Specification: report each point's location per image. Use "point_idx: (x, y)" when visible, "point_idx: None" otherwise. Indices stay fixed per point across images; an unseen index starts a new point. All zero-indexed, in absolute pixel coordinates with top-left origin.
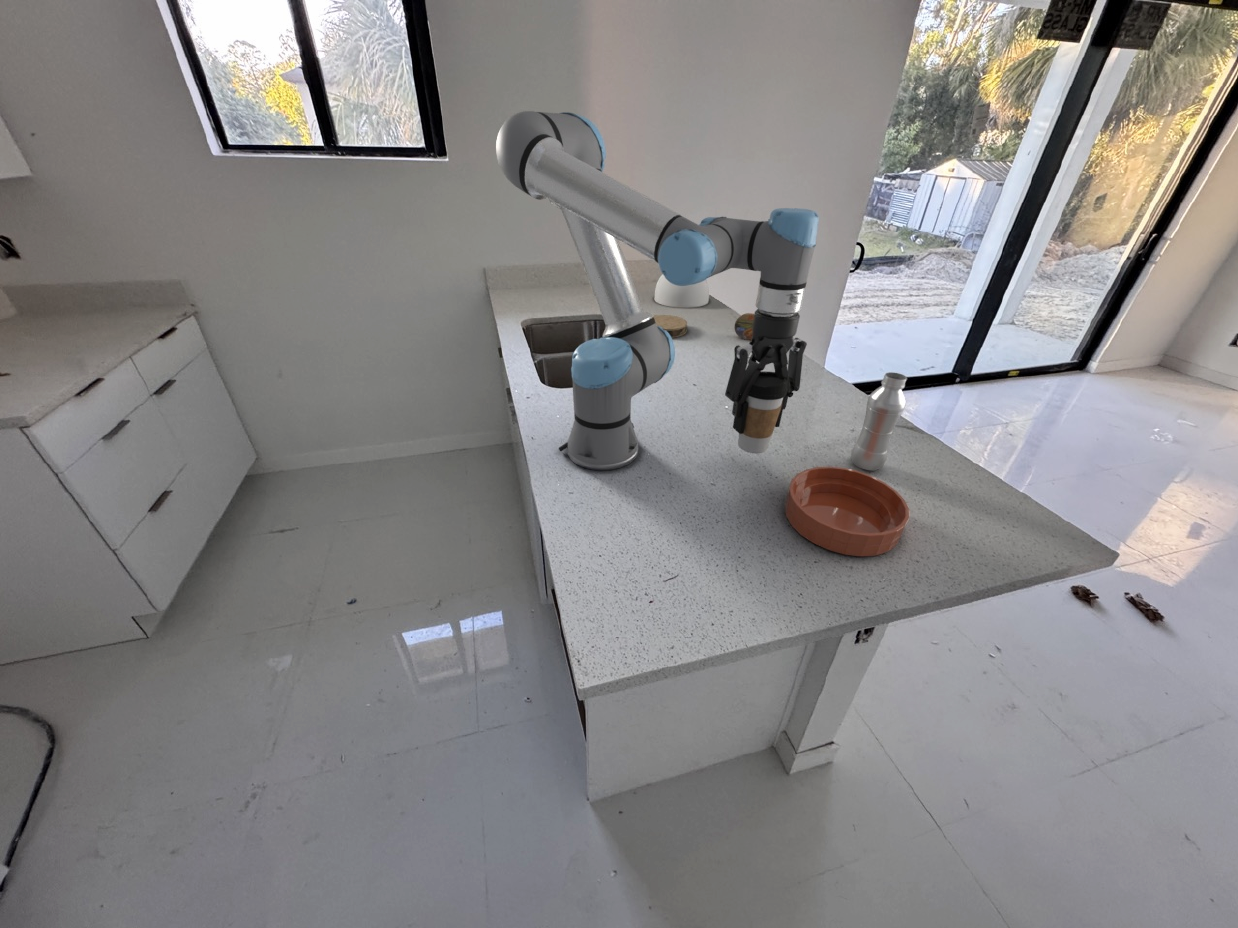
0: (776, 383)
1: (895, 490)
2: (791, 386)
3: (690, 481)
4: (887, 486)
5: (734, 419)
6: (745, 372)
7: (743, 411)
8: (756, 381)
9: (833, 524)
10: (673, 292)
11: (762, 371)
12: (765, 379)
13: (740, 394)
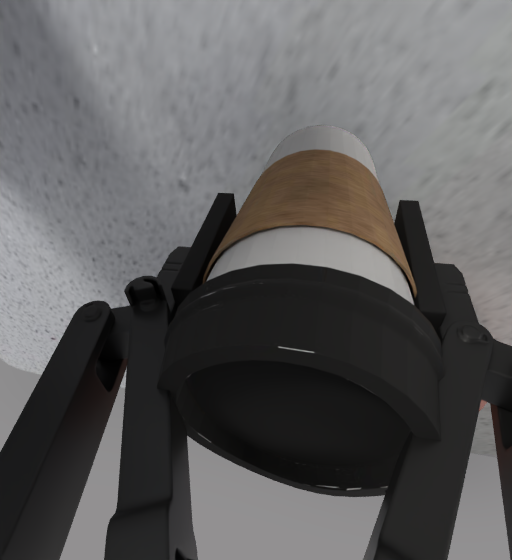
0: (339, 445)
1: (482, 408)
2: (489, 401)
3: (129, 155)
4: (481, 400)
5: (208, 217)
6: (124, 447)
7: None
8: (252, 381)
9: None
10: None
11: (362, 369)
12: (323, 394)
13: (169, 320)
